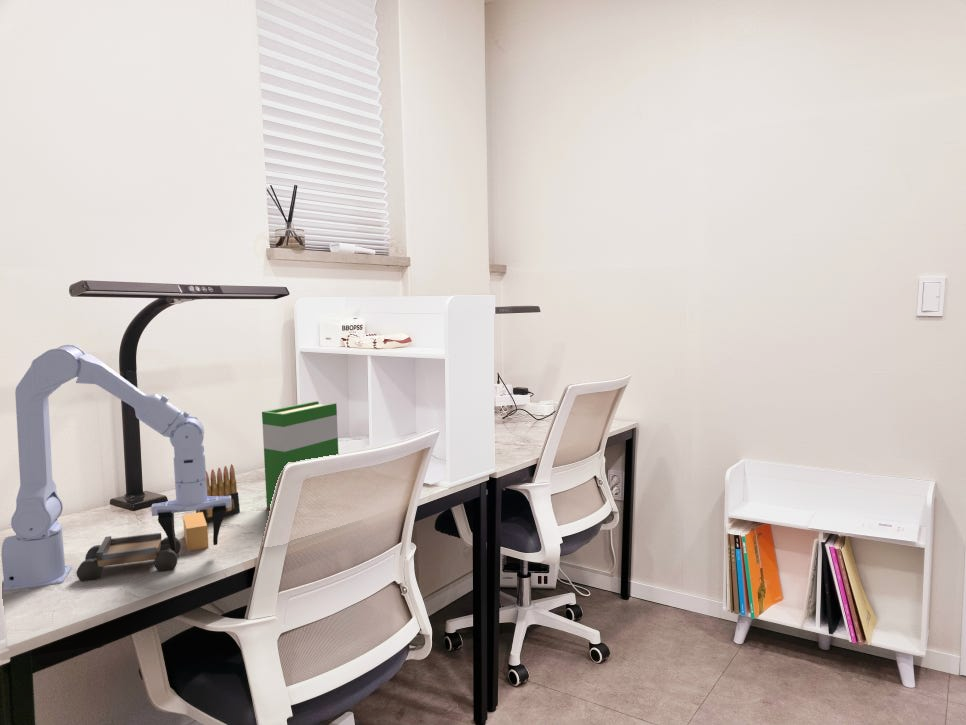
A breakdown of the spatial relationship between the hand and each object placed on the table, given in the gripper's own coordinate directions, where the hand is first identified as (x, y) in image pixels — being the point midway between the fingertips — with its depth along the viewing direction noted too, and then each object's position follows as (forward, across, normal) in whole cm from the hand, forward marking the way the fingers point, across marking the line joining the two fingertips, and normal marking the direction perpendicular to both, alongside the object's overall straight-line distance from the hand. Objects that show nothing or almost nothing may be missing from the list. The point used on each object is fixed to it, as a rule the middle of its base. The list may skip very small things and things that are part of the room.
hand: (194, 545), depth 140 cm
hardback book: (+3, +24, +32) cm, 40 cm away
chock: (+3, -1, +11) cm, 11 cm away
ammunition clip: (+3, +4, +26) cm, 26 cm away
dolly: (+3, -12, 0) cm, 12 cm away
